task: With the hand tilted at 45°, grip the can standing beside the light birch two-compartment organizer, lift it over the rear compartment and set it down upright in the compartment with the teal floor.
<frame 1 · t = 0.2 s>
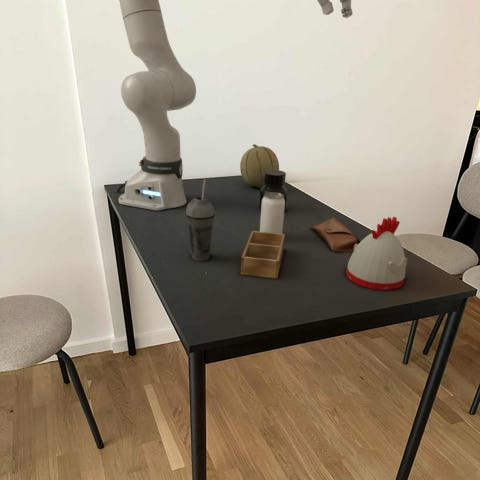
hand: (338, 15, 97), 54 cm above the table, tool tilted 30°, fingers open, 8 cm apart
sunglasses case: (333, 240, 133), on the table
ink bottle: (272, 209, 153), on the table
can: (270, 237, 132), on the table
kitchen timer: (374, 277, 113), on the table
beverage cup: (200, 257, 119), on the table
organizer: (263, 261, 118), on the table
cantaloupe: (258, 187, 174), on the table
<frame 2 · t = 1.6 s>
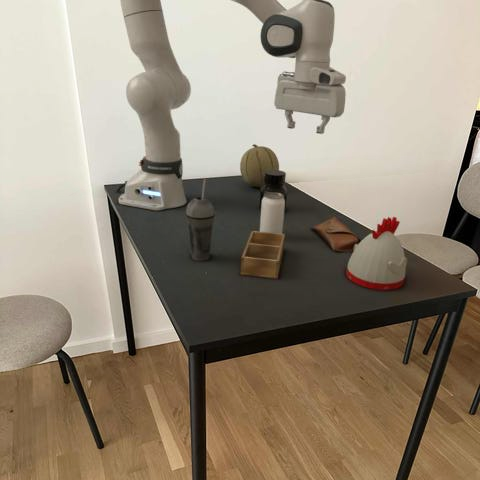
hand: (305, 130, 126), 27 cm above the table, tool pointing down, fingers open, 8 cm apart
nothing on the table moved.
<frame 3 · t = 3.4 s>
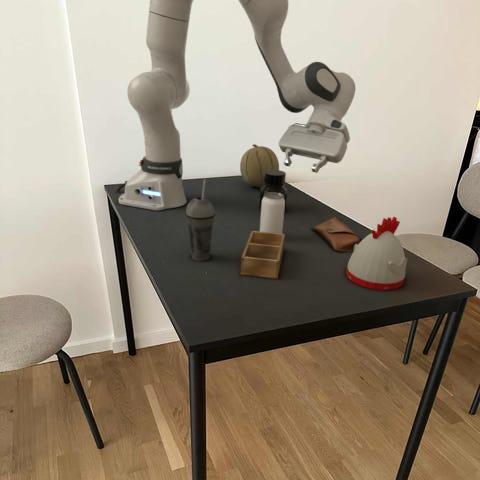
hand: (300, 168, 131), 17 cm above the table, tool tilted 45°, fingers open, 8 cm apart
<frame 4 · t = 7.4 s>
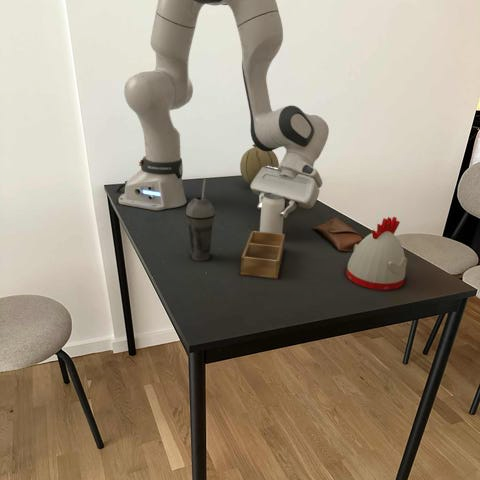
hand: (271, 212, 128), 7 cm above the table, tool tilted 45°, fingers closed on can, 6 cm apart
can: (270, 237, 132), on the table, touching gripper
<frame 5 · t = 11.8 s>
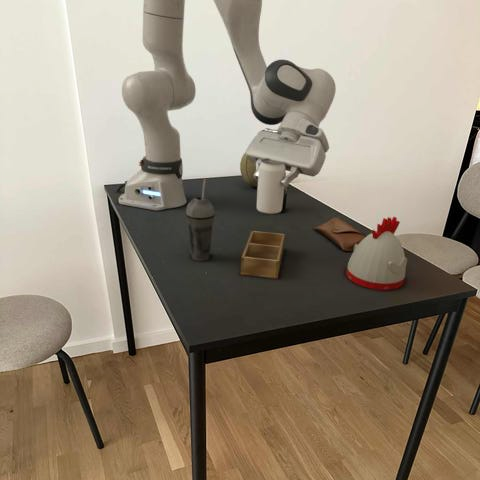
hand: (269, 181, 110), 19 cm above the table, tool tilted 45°, fingers closed on can, 6 cm apart
can: (269, 210, 115), point 12 cm above the table, touching gripper
when the fingers open (8 cm above the table, at t = 16.6 s): can stays where it is, resting on organizer.
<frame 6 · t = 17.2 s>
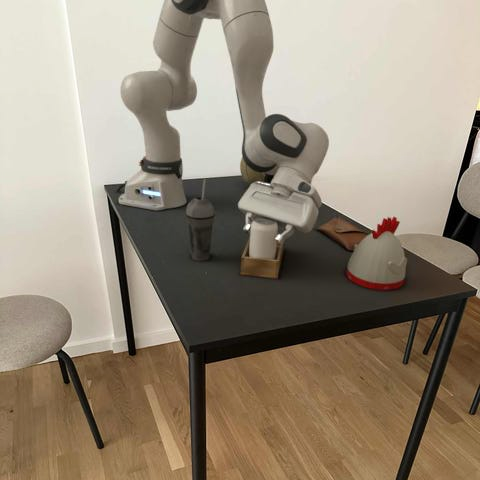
hand: (262, 237, 109), 8 cm above the table, tool tilted 45°, fingers open, 8 cm apart
can: (261, 266, 114), point 1 cm above the table, touching organizer
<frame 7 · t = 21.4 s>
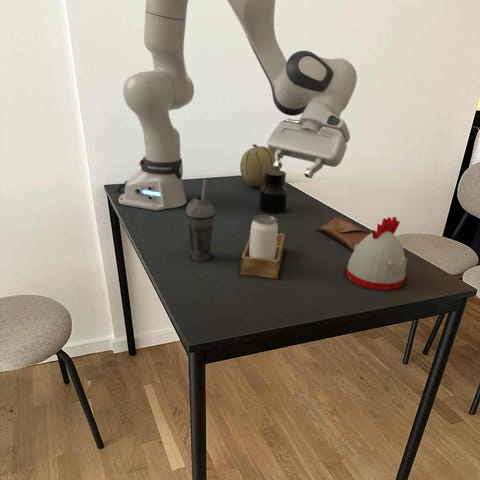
hand: (291, 172, 112), 21 cm above the table, tool tilted 45°, fingers open, 8 cm apart
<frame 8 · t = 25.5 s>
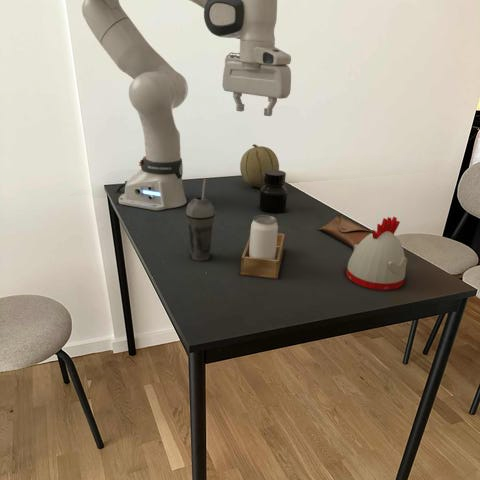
hand: (253, 113, 124), 31 cm above the table, tool pointing down, fingers open, 8 cm apart
at the end: can 0.0 cm from the target spot in the organizer, point 0.6 cm above the organizer's base; can tilted 0°; the gripper is holding nothing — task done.
